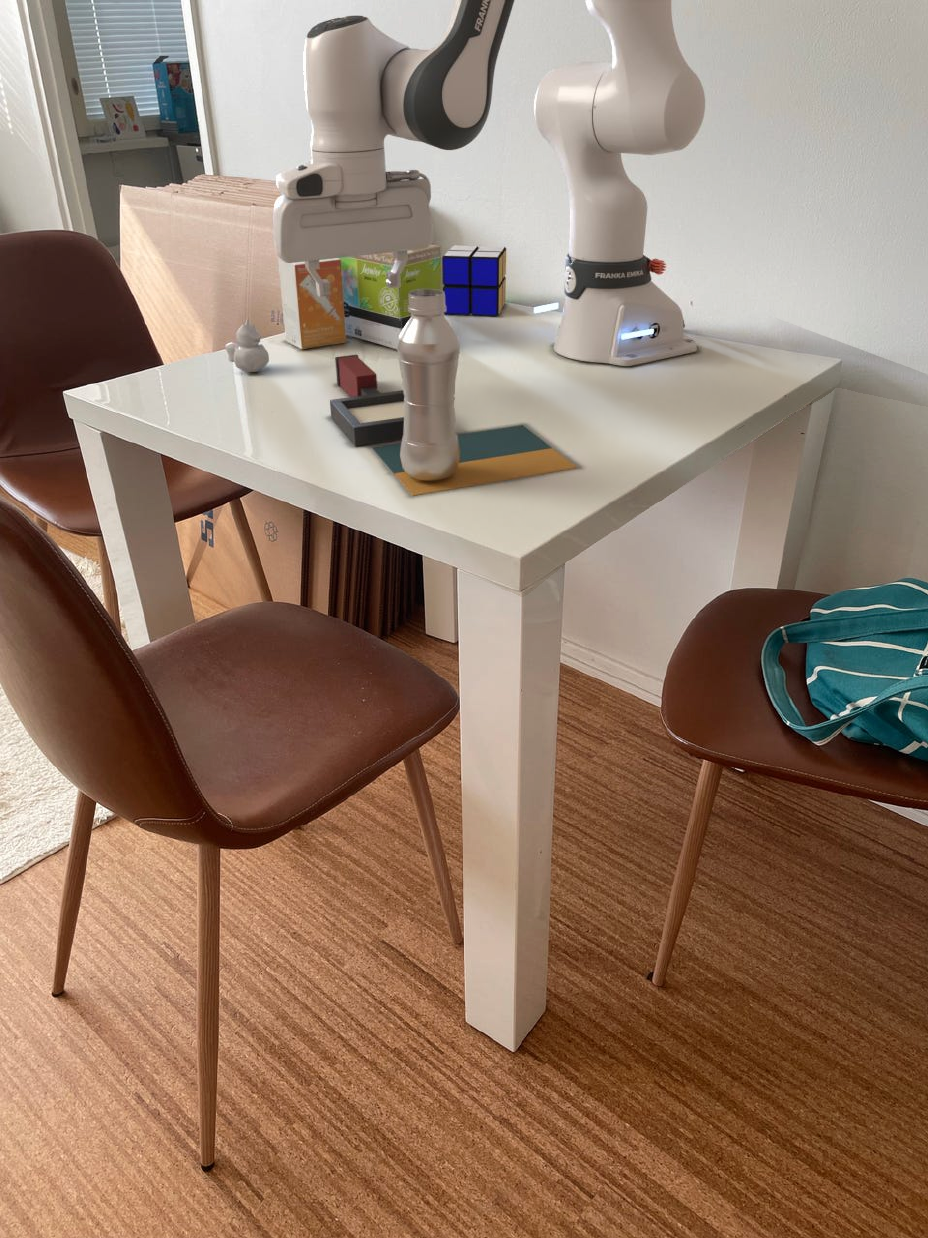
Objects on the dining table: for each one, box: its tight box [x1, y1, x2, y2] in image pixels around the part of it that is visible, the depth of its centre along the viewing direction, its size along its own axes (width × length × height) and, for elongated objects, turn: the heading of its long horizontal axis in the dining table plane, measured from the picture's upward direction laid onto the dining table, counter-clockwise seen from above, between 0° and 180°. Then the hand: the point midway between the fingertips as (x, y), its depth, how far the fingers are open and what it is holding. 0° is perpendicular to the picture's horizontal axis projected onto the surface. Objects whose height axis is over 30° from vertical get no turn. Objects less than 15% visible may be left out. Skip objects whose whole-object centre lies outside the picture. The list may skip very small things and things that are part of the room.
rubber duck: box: [224, 316, 270, 373], centre depth 137 cm, size 5×7×8 cm
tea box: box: [339, 244, 442, 351], centre depth 150 cm, size 15×10×15 cm, turn 49°
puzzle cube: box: [441, 244, 507, 317], centre depth 167 cm, size 10×10×10 cm
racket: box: [329, 354, 405, 447], centre depth 123 cm, size 24×12×4 cm, turn 22°
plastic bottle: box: [396, 289, 461, 481], centre depth 100 cm, size 6×7×20 cm
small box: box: [277, 257, 347, 350], centre depth 148 cm, size 8×6×13 cm
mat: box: [372, 424, 578, 497], centre depth 110 cm, size 20×15×1 cm
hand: (359, 291), depth 121 cm, fingers open, 8 cm apart
